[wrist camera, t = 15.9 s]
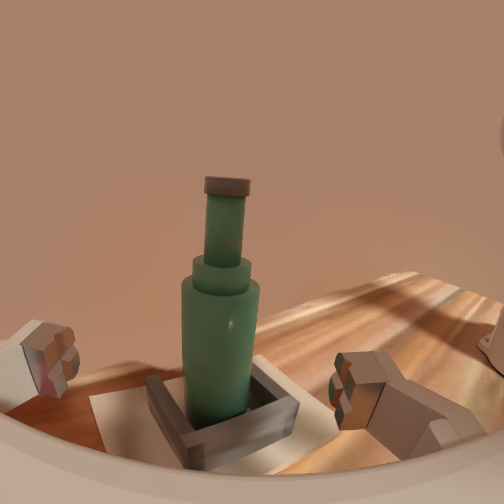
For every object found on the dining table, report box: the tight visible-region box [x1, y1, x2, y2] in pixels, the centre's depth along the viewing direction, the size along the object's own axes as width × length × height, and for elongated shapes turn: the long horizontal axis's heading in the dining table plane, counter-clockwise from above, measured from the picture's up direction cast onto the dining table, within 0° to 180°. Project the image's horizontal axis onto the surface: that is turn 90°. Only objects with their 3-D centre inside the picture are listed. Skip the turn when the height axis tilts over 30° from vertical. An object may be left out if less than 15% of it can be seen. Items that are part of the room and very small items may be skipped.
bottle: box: [182, 176, 260, 431], centre depth 21 cm, size 5×5×20 cm
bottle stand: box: [89, 355, 346, 475], centre depth 23 cm, size 20×14×5 cm
